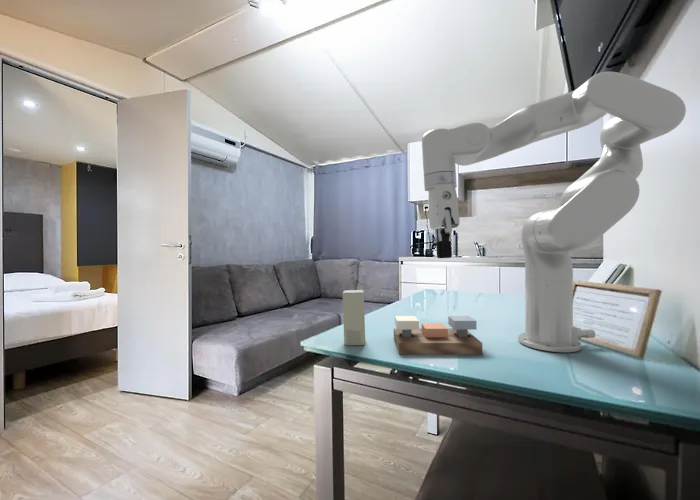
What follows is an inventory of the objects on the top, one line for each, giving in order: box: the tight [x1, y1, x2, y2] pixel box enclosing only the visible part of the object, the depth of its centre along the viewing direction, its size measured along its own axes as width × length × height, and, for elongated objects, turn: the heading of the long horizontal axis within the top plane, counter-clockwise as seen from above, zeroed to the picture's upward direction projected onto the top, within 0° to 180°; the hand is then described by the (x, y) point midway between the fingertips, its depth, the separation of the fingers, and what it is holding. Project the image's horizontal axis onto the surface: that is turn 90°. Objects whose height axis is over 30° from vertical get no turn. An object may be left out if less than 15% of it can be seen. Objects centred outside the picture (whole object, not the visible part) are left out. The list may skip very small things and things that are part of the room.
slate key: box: [447, 315, 477, 337], centre depth 74 cm, size 5×5×4 cm
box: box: [342, 289, 366, 346], centre depth 77 cm, size 5×4×13 cm
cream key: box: [394, 315, 420, 337], centre depth 75 cm, size 5×5×4 cm
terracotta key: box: [421, 322, 449, 337], centre depth 75 cm, size 5×5×4 cm
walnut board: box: [393, 328, 483, 355], centre depth 75 cm, size 18×12×2 cm, turn 88°
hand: (444, 257), depth 77 cm, fingers closed
